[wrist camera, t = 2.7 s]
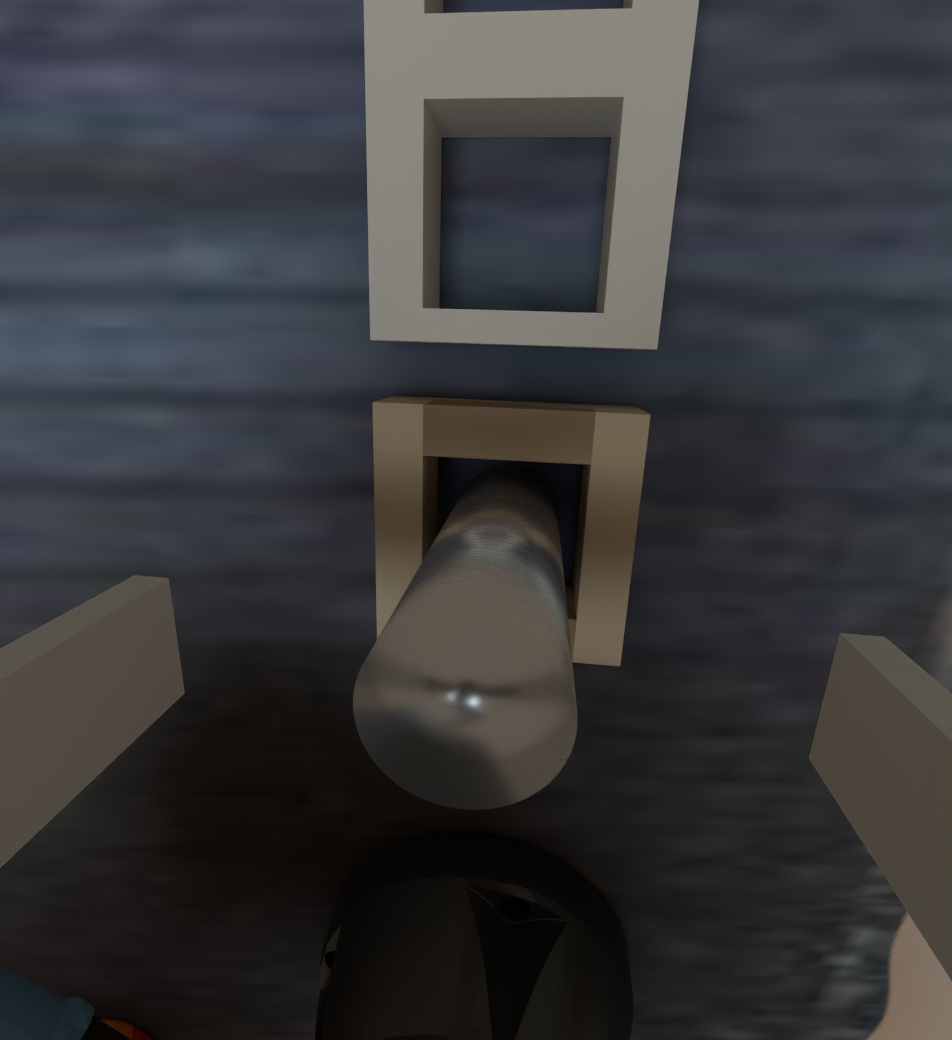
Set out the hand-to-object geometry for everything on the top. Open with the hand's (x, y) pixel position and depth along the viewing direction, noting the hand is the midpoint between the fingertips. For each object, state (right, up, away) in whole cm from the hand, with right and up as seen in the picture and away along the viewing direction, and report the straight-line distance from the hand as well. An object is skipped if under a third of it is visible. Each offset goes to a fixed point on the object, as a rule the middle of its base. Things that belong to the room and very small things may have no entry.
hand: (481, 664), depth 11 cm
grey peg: (+1, +3, +11) cm, 12 cm away
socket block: (+1, +3, +11) cm, 12 cm away
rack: (+2, +16, +7) cm, 18 cm away
